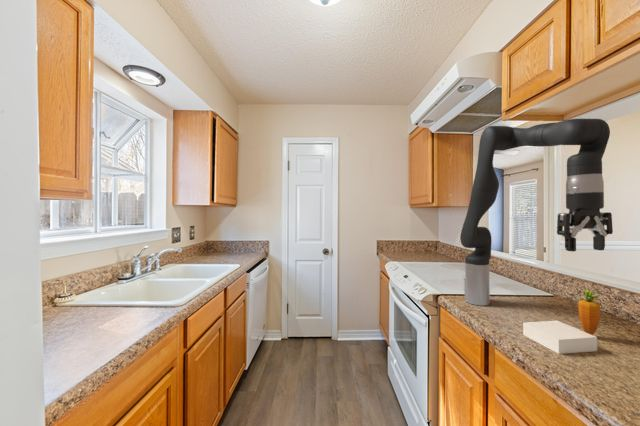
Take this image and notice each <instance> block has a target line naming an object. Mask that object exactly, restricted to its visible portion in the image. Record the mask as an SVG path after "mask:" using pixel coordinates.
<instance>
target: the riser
mask: <svg viewBox="0 0 640 426" xmlns="http://www.w3.org/2000/svg"><path fill="white" fill-rule="evenodd" d="M522 323H523V325H522V326H523V327H522V328H523V329H522V330H523V336H525V337H526V338H529V339H530V340H532V341H534V342H535V343H538V344H540V345H542V346H544V347H545V348H547V349H549V350H550V351H553V352H554V353H556V354H558V355H559V354H560V355H563V354H564V355H565V354H577V353H588V352H591V353H592V352H598V337H597V336H595V335H594V334H593V335H591V334H588V333H586V332H585V331H584V330H582V329H581V330H580V329H578V328H576V327H574V326H571V325H570V324H567V323H564V322H561V321H560V320H541V321H529V322H528V321H526V322H522Z"/></svg>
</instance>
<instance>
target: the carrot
mask: <svg viewBox="0 0 640 426" xmlns="http://www.w3.org/2000/svg"><path fill="white" fill-rule="evenodd" d="M593 292H594V290H592V289H590V290H584V291H582V293H583V295H584V297H585V299H581V300H579V301H578V303H577V306H578V316H579V321H580V322H579V323H580V324H581V327H582V329H583V331H584V332H586V333H588V334H591V335H593V336H594V334H596V332H597V330H598V327H599V324H600V320H601V318H600V317H601V306H600V303H598V302H596V301H594V300H595V298H597V297H600V294H593Z"/></svg>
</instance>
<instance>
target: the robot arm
mask: <svg viewBox="0 0 640 426" xmlns="http://www.w3.org/2000/svg"><path fill="white" fill-rule="evenodd" d="M610 136H611V128H610V126H609V124H608V123H607V122H606V121H605V120H604V119H601V118H571V119H565V120H560V121H558V122H557V121H556V122H548V123H540V124H536V125H533V126H530V127H526V128H525V127H513V126H509V125H489V126H487V127H485V128H484V129H483V131H482V133H481V135H480V139H479V145H478V154H477V163H476V164H477V165H476V168H475V169H476V170H475V174H474V179H473V183H472V186H471V187H472V188H471V192H470V197H469V198H470V199H469V203H468V209H467V213H466V215H465V217H464V222H463V224H462V227H461V231H460V243H461V245H462V247H463V248H467V249H474V250H473V252H472V253H471V252H470V254H467V255H465V258H464V269H465V270H464V272H465V275H464V277H465V278H464V280H463V281H464V282H463V283H464V286H463V287H464V288H463V289H464V300H465V302H466V303H468V304H471V305H476V306H489V305H490V304H491V303H490V302H491V300H490V297H491V296H490V293H491V289H490V286H491V285H490V261H491V257H492V241H493V240H492V234H491V231H490V230H489V228H487V227H485V226H479V223H480V221H481V219H482V217H484V215H485V214H486V213H487V212H488V211H489V209H491V207H492V206H493V205H494V204H495V202H496V200H497V196H498V191H499V189H500V188H499V187H500V182H499V179H498V175H497V173H496V171H495V167H494V155H495V152H496V151H497V152H499V151H507V150H511V149H517V148H521V147H556V146H580V147H579V149H578V150H579V151H578V153H576V154H572V155H570V156H569V157H568V158H567V159H566V182H565V208H566V209H567V210H569V211H568V213H566V212H563V213H557V222H556V223H557V225H556V234H557V235H558V236H561V237H564V249H565V251H567V252H577V234H578V233H579V232H581V231H582V230H588V231H591V234H592V235H593V236H592V238H593V239H592V240H593V242H592V244H593V245H592V246H593V249H594V251H595V250H597V251H604V250H605V248H606V243H605V242H606V237H607V236H608V235H612V234H613V232H614V231H613V216H612V215H613V214H612V212H606V211H605V212H601V211H600V210H601V209H604V208H605V193H604V192H605V191H604V190H605V189H604V188H605V185H604V183H605V182H604V177H603V160H602V159H603V157H604V154H605V152H606V149H607V145H608V142H609V139H610ZM605 226H606V228H605Z"/></svg>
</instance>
